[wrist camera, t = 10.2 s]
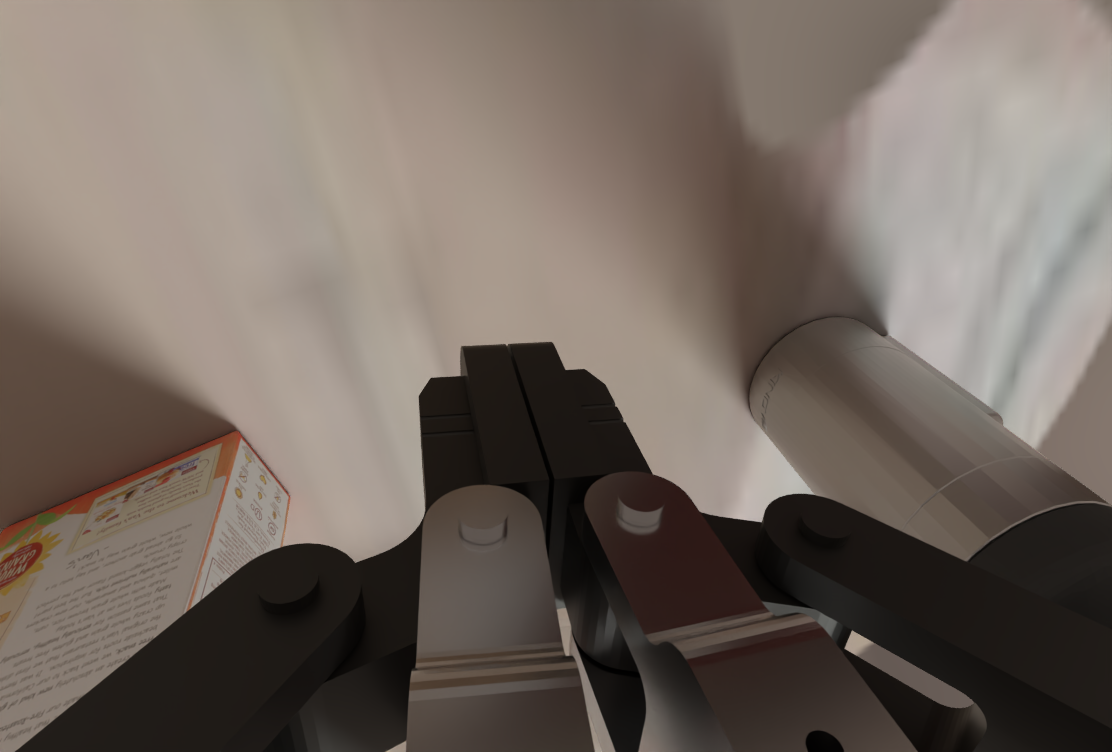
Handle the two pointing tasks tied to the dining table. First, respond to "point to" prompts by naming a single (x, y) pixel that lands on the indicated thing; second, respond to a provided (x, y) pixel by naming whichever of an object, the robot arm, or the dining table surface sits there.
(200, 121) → the dining table surface
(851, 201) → the dining table surface
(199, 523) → the cracker box
